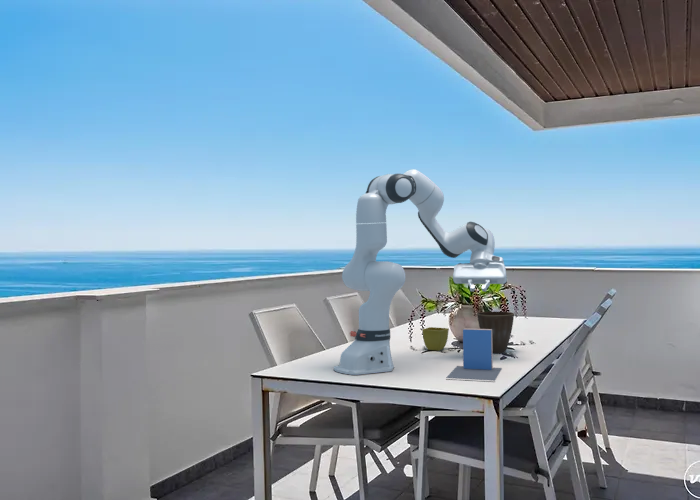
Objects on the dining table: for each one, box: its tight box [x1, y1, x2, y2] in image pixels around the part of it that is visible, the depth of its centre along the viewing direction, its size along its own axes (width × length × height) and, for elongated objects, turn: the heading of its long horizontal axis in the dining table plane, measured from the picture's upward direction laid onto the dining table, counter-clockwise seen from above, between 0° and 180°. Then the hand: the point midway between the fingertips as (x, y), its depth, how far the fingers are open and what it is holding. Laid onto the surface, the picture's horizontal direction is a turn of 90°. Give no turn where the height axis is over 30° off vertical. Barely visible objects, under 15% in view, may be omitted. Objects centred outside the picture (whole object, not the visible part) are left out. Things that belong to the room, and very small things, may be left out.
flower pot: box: [422, 326, 449, 352], centre depth 276 cm, size 9×9×9 cm
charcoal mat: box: [445, 365, 503, 383], centre depth 223 cm, size 22×16×1 cm
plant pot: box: [476, 311, 515, 354], centre depth 269 cm, size 15×15×16 cm
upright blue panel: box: [462, 328, 494, 370], centre depth 230 cm, size 2×10×14 cm, turn 71°
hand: (478, 290), depth 244 cm, fingers open, 3 cm apart
